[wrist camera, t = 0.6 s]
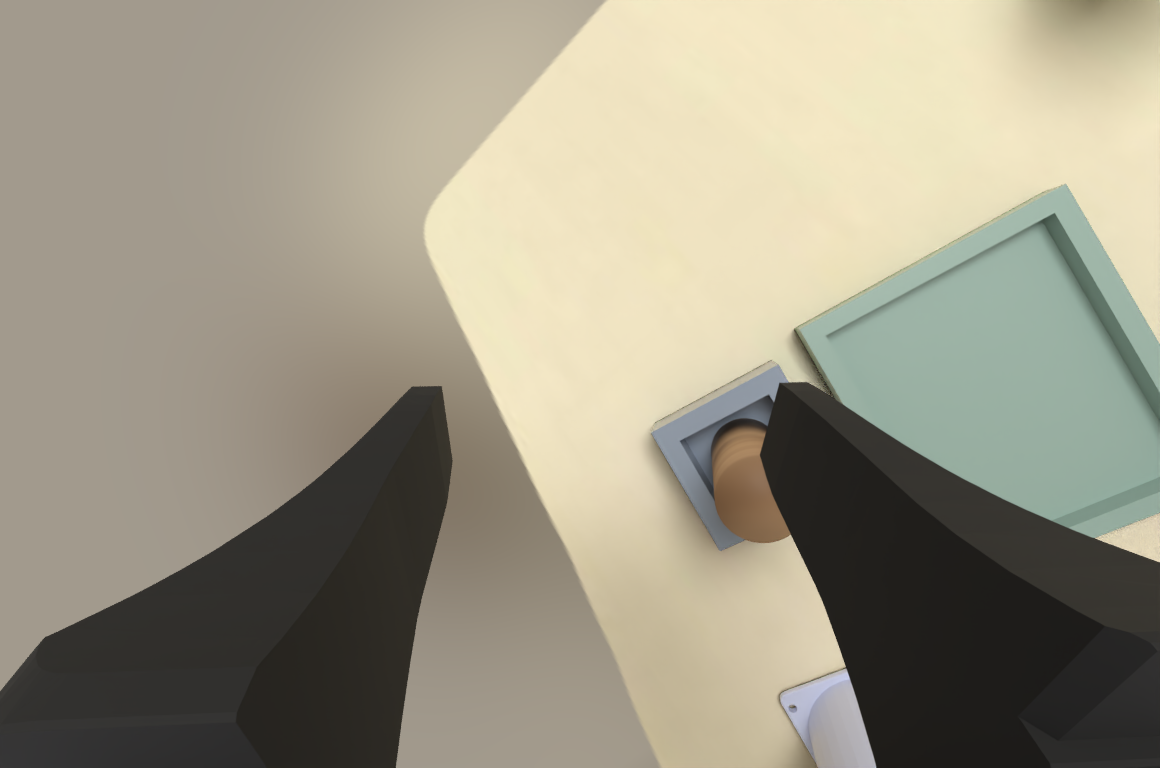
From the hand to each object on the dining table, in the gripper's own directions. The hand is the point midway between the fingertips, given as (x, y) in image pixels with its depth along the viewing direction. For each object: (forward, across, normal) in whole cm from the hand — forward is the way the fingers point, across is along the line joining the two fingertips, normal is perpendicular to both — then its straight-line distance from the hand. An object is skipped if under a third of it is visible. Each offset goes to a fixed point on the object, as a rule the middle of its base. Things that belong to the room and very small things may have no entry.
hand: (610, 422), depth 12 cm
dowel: (+15, -10, +14) cm, 23 cm away
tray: (+14, -23, +10) cm, 29 cm away
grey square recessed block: (+16, -11, +14) cm, 24 cm away
